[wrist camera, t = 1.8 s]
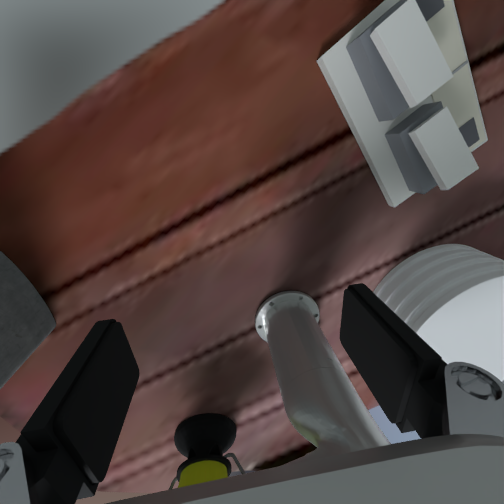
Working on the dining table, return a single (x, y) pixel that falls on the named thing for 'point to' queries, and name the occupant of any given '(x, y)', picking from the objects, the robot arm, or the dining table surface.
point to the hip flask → (19, 319)
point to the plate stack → (452, 303)
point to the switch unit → (400, 98)
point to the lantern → (205, 449)
